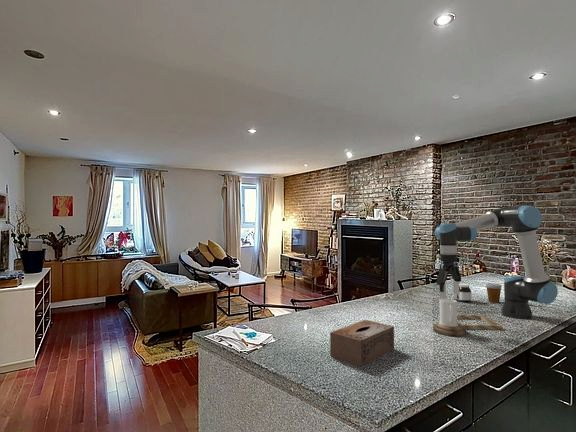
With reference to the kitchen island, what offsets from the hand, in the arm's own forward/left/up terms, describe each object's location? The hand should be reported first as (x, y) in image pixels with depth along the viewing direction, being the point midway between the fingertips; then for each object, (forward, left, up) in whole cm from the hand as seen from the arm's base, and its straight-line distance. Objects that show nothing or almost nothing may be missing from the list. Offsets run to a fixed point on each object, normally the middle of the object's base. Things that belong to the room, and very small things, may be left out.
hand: (449, 296), depth 172 cm
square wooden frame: (-18, -14, -17) cm, 28 cm away
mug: (+1, +1, -14) cm, 14 cm away
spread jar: (-37, -68, -18) cm, 79 cm away
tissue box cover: (+49, +29, -18) cm, 59 cm away
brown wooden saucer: (0, 0, -17) cm, 17 cm away
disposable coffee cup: (-58, -65, -18) cm, 89 cm away
